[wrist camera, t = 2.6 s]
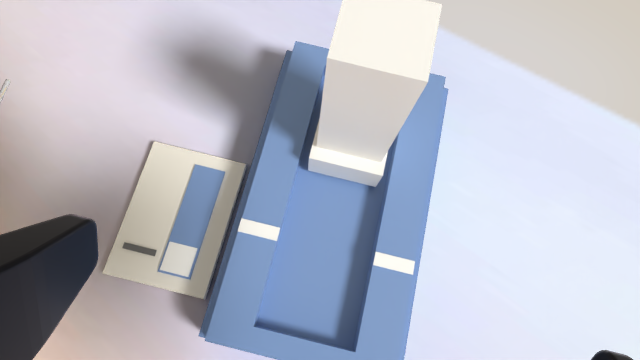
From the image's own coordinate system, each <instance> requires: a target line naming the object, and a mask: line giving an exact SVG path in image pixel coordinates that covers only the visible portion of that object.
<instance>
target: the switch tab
mask: <svg viewBox="0 0 640 360" xmlns="http://www.w3.org/2000/svg"><path fill="white" fill-rule="evenodd" d="M441 8H442V4H438V3H434V2H430V1H425V0H343V1H342V5H341V8H340V12H339V16H338V19H337V23H336V27H335V30H334V34H333V38H332V41H331V45H330V49H329V52H328V56H327V62H326V71H325V79H324V87H323V96H322V104H321V113H320V118H319V122H318V126H317V129H316V133H315V137H314V141H313V144H312V148H311V152H310V156H309V163H308V171H312V172H316V173H320V174H324V175H328V176H333V177H337V178H341V179H345V180H349V181H353V182H357V183H361V184H365V185H369V186H373V187H376V186H377V184H378V183H379V181H380V180H381V178H382V176H383V173H384V168H385V163H386V158H387V153H388V150H389V148H390V146H391V145H392V143H393V141H394V139H395V138H396V136H397V134H398V133H399V131H400V129H401V127H402V126H403V124H404V122H405V121H406V119H407V117H408V115H409V114H410V112H411V110H412V109H413V107H414V105H415V103H416V102H417V100H418V98H419V97H420V95H421V93H422V91H423V90H424V88H425V86H426V85H427V83H428V79H429V74H430V68H431V63H432V57H433V52H434V46H435V41H436V35H437V30H438V24H439V19H440V13H441Z"/></svg>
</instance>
